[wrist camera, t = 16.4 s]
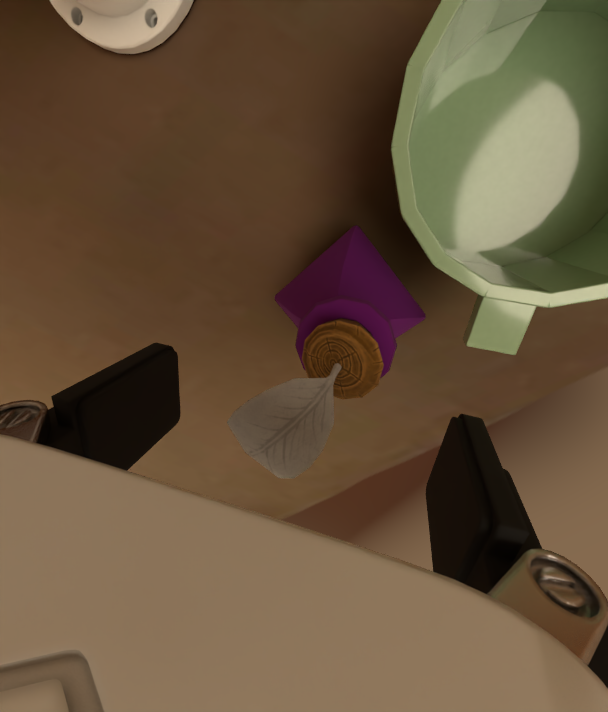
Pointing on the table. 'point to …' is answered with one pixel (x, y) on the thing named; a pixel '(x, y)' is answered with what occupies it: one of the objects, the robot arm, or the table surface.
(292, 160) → the table surface
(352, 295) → the purple potion bottle
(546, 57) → the pot
